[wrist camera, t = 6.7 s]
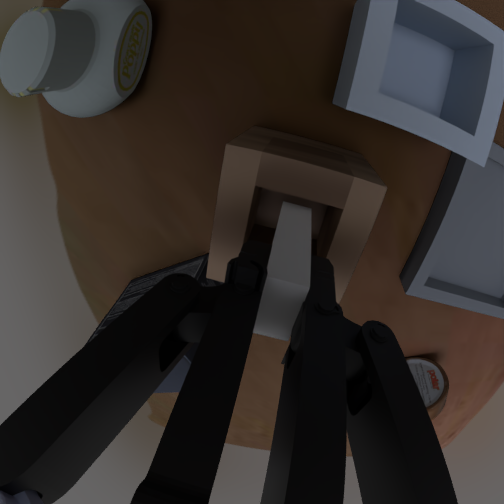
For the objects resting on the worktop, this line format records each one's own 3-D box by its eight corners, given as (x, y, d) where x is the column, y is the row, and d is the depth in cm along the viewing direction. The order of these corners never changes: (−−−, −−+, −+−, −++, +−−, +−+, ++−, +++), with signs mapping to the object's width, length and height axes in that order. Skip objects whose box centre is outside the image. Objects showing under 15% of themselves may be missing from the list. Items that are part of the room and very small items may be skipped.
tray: (459, 126, 17) (475, 131, 15) (555, 189, 16) (570, 200, 14) (399, 276, 24) (405, 294, 22) (498, 304, 24) (507, 319, 21)
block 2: (354, 6, 14) (376, -34, 8) (453, 47, 14) (512, 38, 7) (332, 103, 19) (345, 109, 12) (431, 139, 18) (484, 167, 11)
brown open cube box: (254, 125, 20) (226, 143, 14) (361, 154, 20) (387, 187, 13) (235, 221, 25) (206, 277, 18) (330, 246, 24) (335, 311, 17)
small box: (162, 324, 33) (122, 396, 24) (129, 279, 30) (76, 348, 21) (243, 305, 29) (216, 395, 20) (211, 250, 26) (164, 335, 17)
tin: (317, 381, 33) (314, 441, 26) (314, 365, 32) (310, 430, 25) (437, 363, 29) (451, 421, 22) (441, 346, 28) (459, 406, 21)
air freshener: (90, -2, 16) (6, -14, 7) (169, -8, 15) (91, -45, 7) (69, 108, 21) (-15, 133, 13) (141, 117, 21) (54, 144, 13)
